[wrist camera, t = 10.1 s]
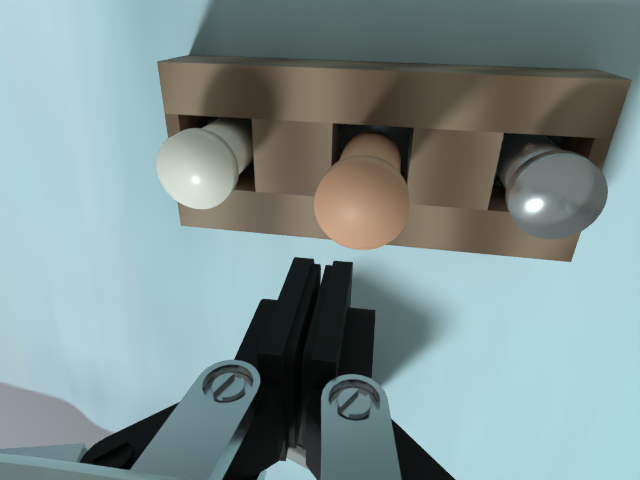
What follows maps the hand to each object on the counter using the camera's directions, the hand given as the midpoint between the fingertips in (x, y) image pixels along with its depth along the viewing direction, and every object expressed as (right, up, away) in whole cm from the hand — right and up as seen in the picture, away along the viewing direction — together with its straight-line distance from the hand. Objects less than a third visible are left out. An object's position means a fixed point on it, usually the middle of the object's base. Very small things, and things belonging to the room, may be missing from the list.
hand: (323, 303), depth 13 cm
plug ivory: (-6, +9, +16) cm, 19 cm away
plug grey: (+12, +7, +14) cm, 20 cm away
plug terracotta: (+3, +6, +13) cm, 15 cm away
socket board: (+3, +8, +16) cm, 18 cm away
